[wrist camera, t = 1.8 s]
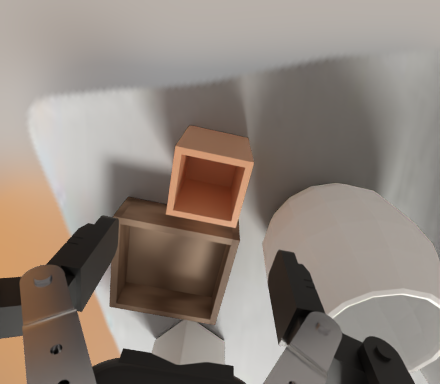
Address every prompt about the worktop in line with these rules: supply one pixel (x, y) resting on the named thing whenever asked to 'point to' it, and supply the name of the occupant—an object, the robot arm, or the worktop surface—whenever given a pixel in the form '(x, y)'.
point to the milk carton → (190, 345)
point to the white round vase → (364, 266)
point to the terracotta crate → (209, 176)
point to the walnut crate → (170, 263)
